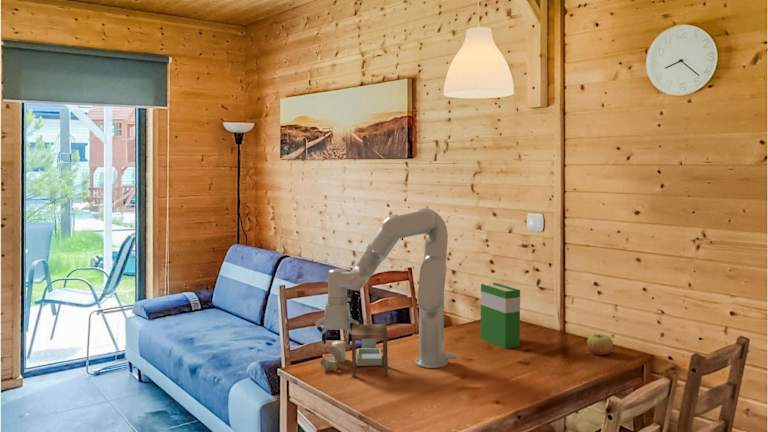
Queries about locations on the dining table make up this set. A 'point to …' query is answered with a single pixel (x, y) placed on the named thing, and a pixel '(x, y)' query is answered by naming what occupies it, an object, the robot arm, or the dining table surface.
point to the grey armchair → (369, 353)
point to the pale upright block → (340, 346)
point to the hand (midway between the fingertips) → (336, 343)
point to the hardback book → (500, 315)
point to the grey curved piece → (331, 360)
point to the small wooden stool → (369, 333)
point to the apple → (599, 344)
